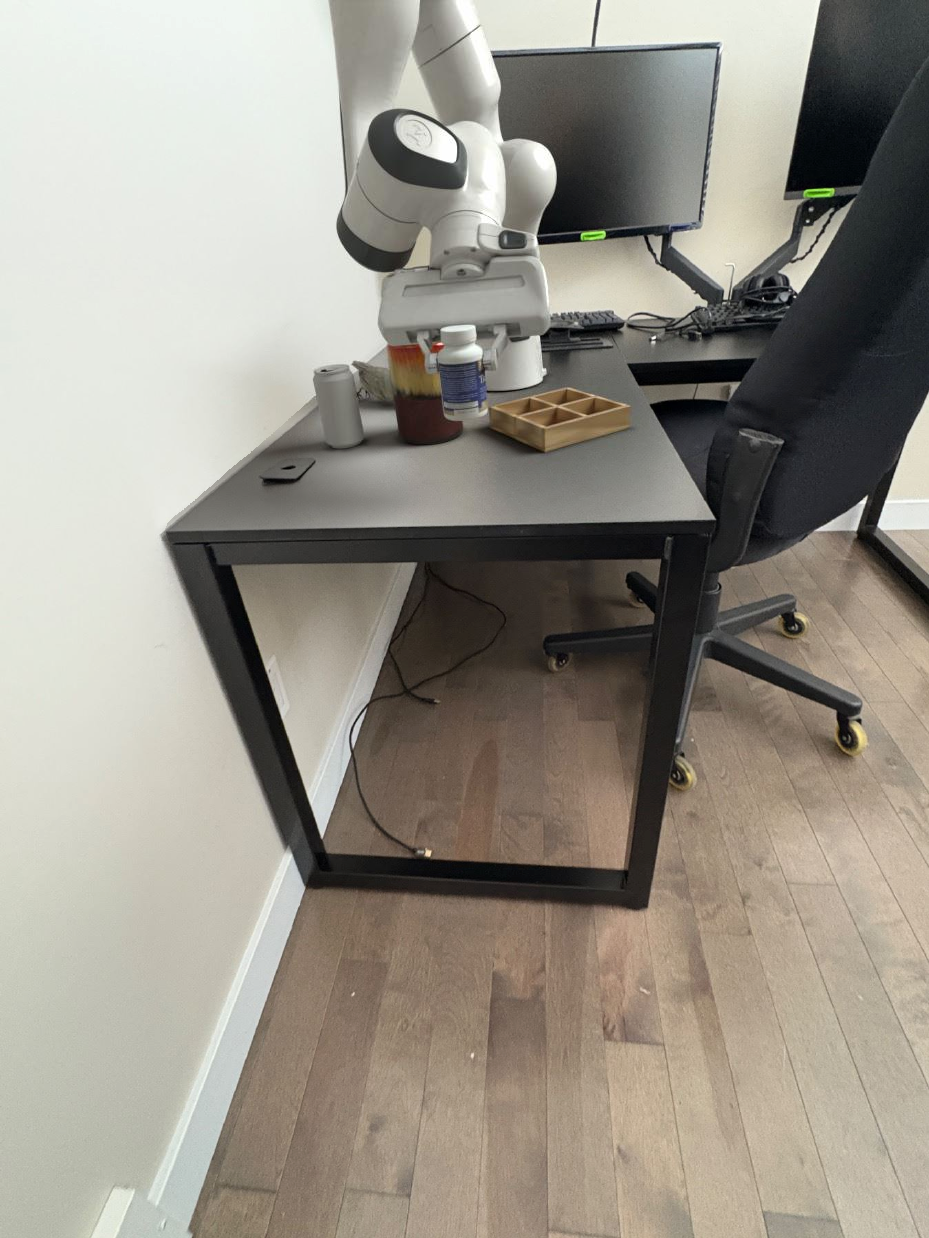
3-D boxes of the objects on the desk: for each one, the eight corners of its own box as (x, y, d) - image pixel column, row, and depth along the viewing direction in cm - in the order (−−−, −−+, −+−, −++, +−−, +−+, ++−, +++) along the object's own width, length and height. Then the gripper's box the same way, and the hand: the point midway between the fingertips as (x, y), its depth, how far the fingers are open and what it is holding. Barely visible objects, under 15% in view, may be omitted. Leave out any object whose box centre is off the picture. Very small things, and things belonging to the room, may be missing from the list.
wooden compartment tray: (489, 427, 101) (488, 406, 99) (567, 407, 106) (567, 387, 104) (544, 452, 89) (544, 429, 87) (629, 428, 94) (630, 405, 92)
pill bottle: (492, 418, 71) (485, 328, 65) (447, 424, 70) (437, 334, 65) (483, 406, 75) (477, 321, 70) (441, 412, 75) (431, 327, 69)
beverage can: (319, 446, 100) (302, 370, 94) (349, 434, 104) (335, 361, 97) (342, 452, 97) (326, 374, 90) (373, 440, 100) (359, 364, 93)
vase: (474, 426, 102) (464, 291, 90) (442, 447, 94) (427, 303, 83) (421, 422, 106) (405, 293, 95) (386, 442, 99) (364, 304, 87)
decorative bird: (406, 411, 113) (401, 370, 108) (350, 402, 122) (343, 364, 118) (426, 404, 116) (421, 363, 112) (370, 396, 125) (363, 358, 121)
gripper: (374, 251, 70) (366, 359, 68) (550, 233, 66) (547, 347, 64) (390, 289, 76) (383, 389, 74) (552, 274, 73) (550, 379, 70)
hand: (461, 369), depth 69 cm, fingers closed on pill bottle, 5 cm apart
